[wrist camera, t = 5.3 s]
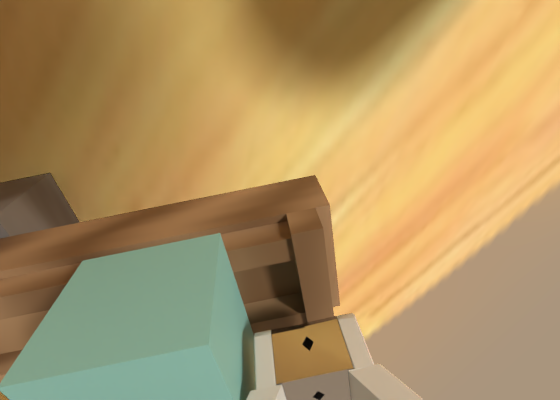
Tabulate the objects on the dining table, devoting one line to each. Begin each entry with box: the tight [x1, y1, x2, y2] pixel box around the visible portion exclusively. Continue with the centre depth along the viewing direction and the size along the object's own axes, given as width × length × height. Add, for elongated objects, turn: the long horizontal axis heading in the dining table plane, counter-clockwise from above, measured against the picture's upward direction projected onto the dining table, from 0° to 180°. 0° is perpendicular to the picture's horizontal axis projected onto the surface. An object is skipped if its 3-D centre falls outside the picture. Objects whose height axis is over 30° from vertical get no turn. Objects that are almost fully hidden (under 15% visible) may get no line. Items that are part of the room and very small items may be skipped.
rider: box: [0, 233, 256, 400], centre depth 10 cm, size 4×6×5 cm, turn 10°
